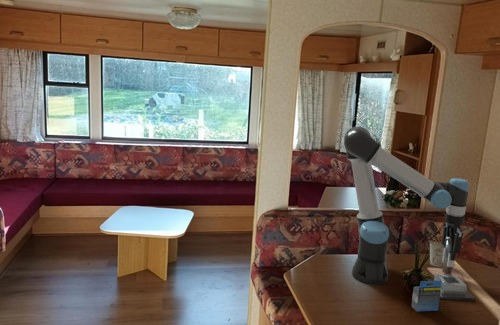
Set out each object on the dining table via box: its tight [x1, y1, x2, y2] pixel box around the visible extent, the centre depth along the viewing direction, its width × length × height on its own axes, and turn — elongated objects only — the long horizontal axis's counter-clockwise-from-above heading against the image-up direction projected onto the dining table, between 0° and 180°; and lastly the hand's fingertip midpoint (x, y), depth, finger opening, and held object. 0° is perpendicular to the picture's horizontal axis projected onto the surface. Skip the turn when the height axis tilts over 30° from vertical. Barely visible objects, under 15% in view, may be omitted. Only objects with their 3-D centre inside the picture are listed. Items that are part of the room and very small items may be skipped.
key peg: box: [441, 236, 454, 274], centre depth 182 cm, size 5×5×16 cm
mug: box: [429, 241, 444, 268], centre depth 196 cm, size 8×13×10 cm, turn 145°
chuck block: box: [431, 274, 476, 301], centre depth 169 cm, size 14×14×5 cm
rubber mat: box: [427, 267, 467, 283], centre depth 184 cm, size 12×12×1 cm
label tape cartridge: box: [410, 280, 442, 312], centre depth 153 cm, size 9×4×12 cm, turn 99°
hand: (447, 264), depth 183 cm, fingers closed on key peg, 4 cm apart
